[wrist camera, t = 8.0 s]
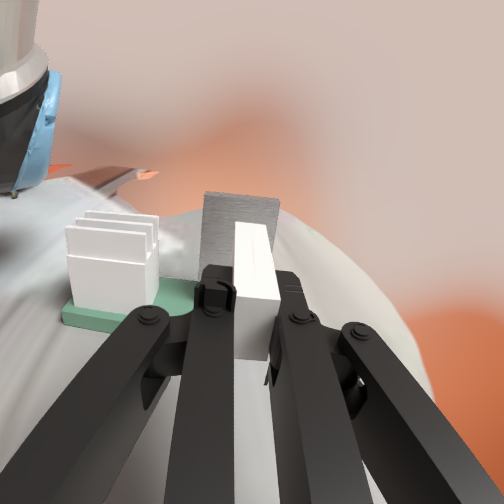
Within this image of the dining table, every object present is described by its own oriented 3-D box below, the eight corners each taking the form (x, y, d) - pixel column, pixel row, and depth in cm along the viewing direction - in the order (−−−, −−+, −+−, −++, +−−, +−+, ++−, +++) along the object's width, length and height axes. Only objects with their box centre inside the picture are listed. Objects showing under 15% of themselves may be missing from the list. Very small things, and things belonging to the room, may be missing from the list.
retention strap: (197, 302, 29) (204, 194, 25) (201, 280, 33) (208, 183, 29) (262, 308, 30) (280, 202, 25) (260, 286, 33) (274, 190, 29)
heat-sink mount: (64, 324, 25) (47, 232, 21) (94, 281, 32) (88, 202, 29) (286, 351, 27) (308, 258, 23) (276, 301, 34) (291, 221, 30)
